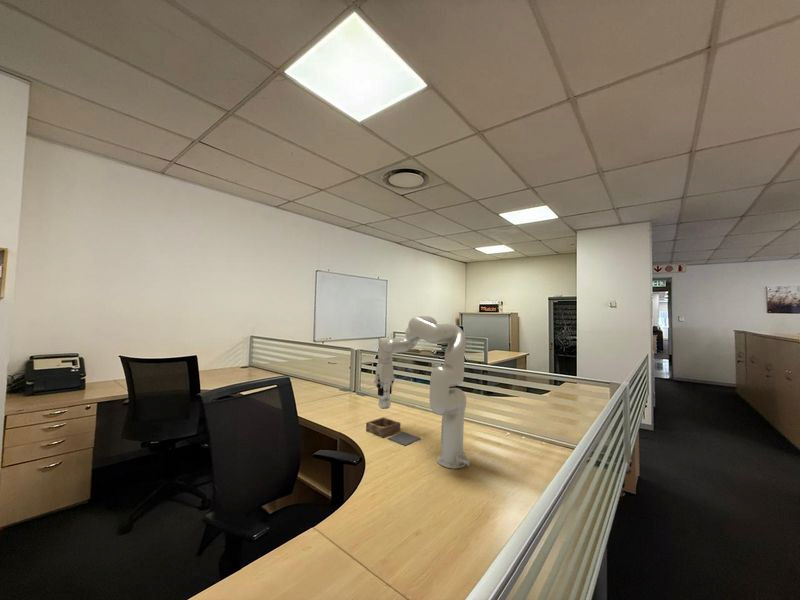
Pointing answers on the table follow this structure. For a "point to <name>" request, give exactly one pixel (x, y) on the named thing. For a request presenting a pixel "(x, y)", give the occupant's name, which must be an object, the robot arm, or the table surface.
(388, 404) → the plastic bottle
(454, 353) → the robot arm
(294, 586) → the table surface
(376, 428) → the box
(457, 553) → the table surface
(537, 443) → the table surface
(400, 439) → the mat
